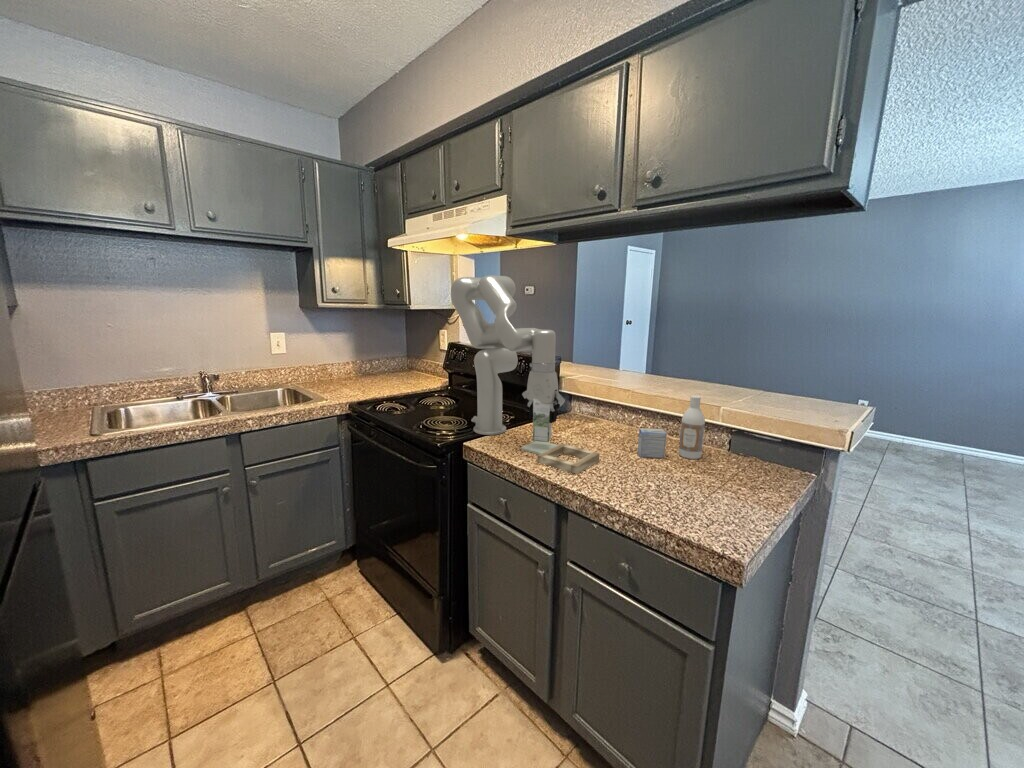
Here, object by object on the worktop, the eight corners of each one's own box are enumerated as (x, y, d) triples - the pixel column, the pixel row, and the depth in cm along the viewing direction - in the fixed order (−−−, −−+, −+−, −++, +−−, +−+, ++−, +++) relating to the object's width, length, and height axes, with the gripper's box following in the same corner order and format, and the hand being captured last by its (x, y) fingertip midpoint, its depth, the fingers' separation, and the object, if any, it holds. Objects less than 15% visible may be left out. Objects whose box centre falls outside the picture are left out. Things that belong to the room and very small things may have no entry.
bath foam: (675, 456, 137) (681, 396, 133) (681, 450, 142) (687, 393, 138) (698, 461, 133) (704, 400, 129) (703, 455, 138) (709, 396, 134)
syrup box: (551, 437, 144) (552, 396, 141) (549, 442, 138) (550, 400, 135) (535, 436, 145) (535, 395, 142) (532, 441, 140) (532, 399, 137)
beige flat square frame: (537, 462, 130) (537, 455, 130) (561, 450, 141) (561, 443, 141) (576, 474, 122) (577, 466, 121) (599, 460, 133) (599, 453, 132)
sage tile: (520, 449, 142) (521, 447, 142) (537, 442, 149) (538, 439, 149) (545, 456, 136) (545, 454, 136) (561, 448, 143) (562, 446, 143)
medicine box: (661, 453, 139) (663, 428, 138) (664, 458, 135) (667, 432, 133) (637, 452, 140) (638, 427, 138) (639, 457, 136) (641, 432, 134)
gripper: (515, 366, 139) (515, 417, 143) (560, 372, 129) (558, 427, 132) (528, 364, 145) (528, 413, 149) (572, 369, 135) (570, 422, 138)
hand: (542, 419), depth 140 cm, fingers closed on syrup box, 7 cm apart
